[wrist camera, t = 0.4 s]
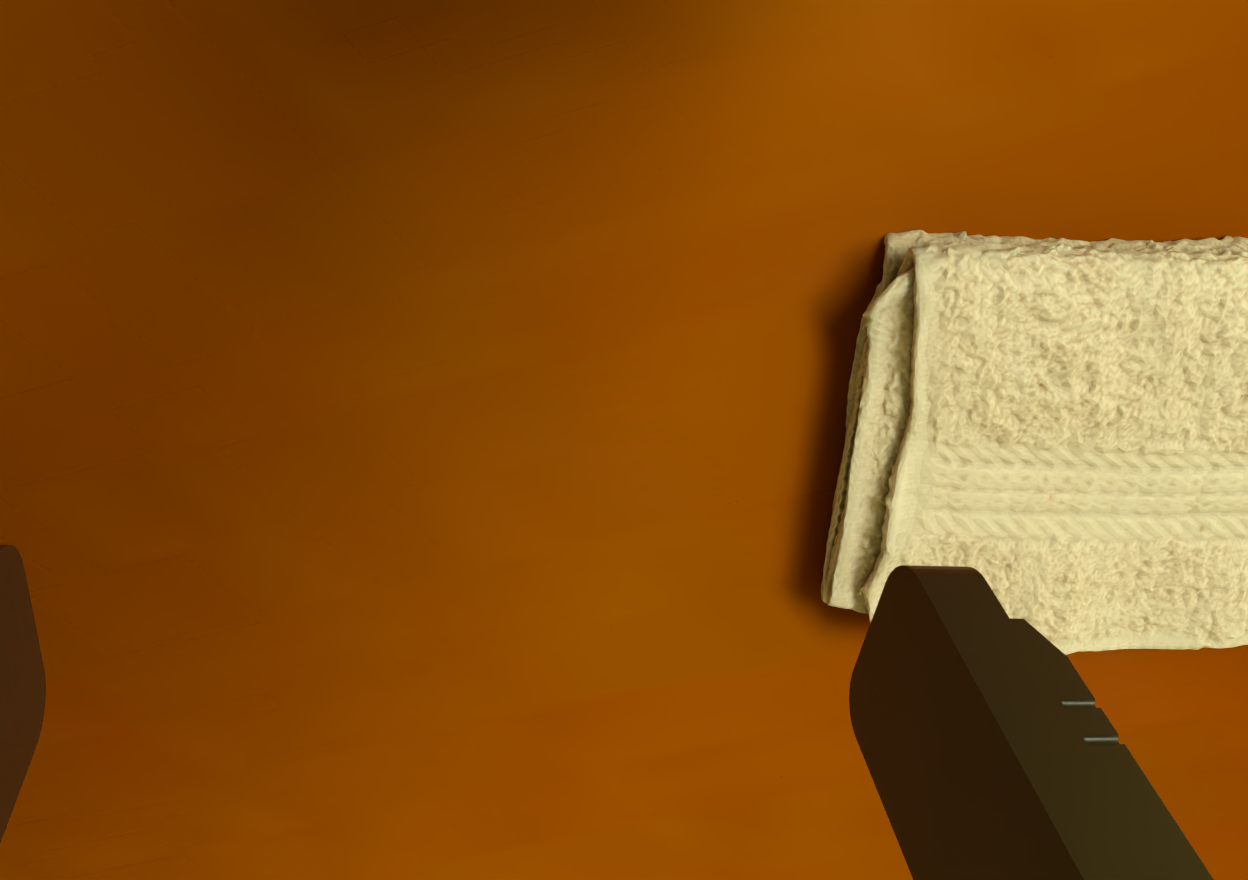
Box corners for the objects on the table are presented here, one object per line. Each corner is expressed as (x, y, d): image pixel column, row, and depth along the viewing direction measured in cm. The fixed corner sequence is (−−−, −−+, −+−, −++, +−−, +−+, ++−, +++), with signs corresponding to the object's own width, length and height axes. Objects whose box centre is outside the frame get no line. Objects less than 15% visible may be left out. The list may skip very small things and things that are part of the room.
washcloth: (850, 218, 27) (886, 256, 25) (1511, 219, 29) (1614, 255, 26) (802, 604, 33) (828, 670, 30) (1360, 588, 34) (1433, 650, 32)
